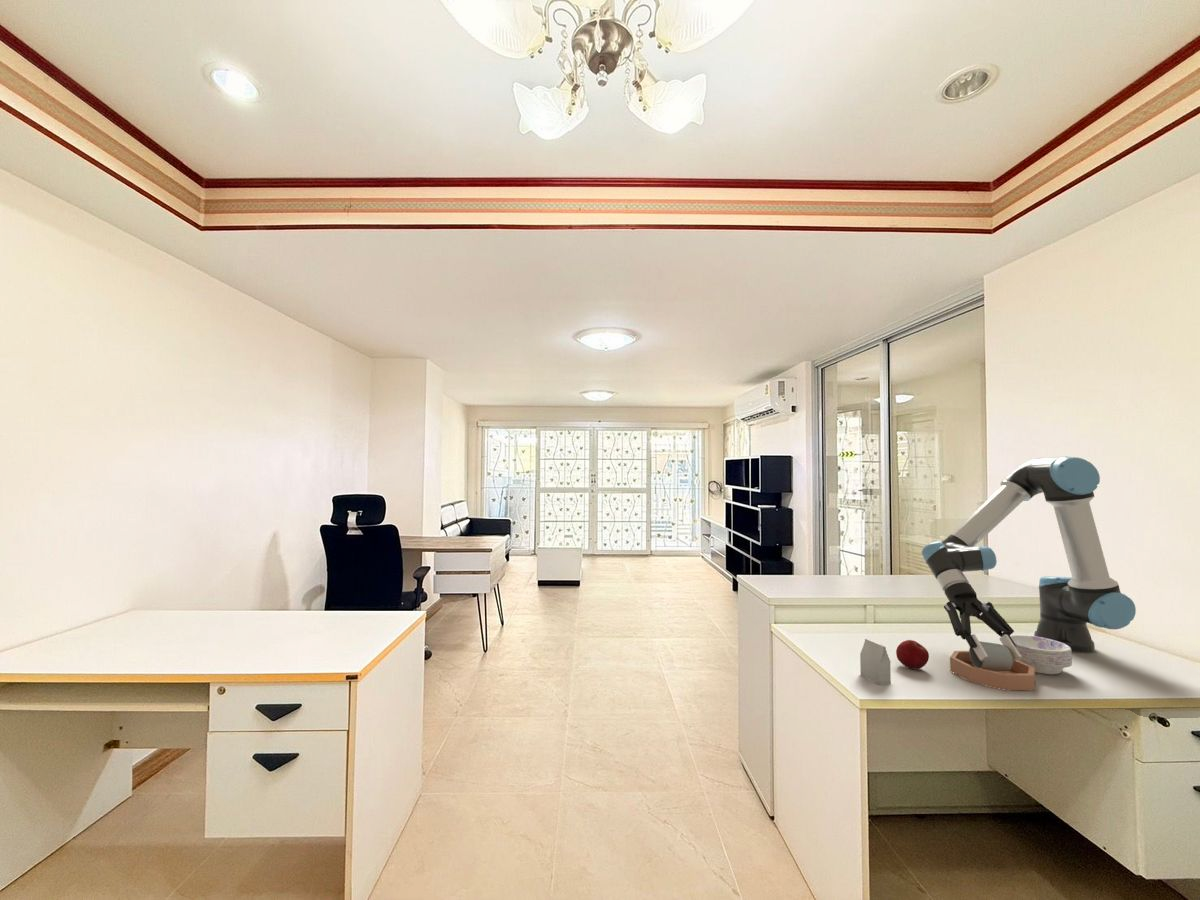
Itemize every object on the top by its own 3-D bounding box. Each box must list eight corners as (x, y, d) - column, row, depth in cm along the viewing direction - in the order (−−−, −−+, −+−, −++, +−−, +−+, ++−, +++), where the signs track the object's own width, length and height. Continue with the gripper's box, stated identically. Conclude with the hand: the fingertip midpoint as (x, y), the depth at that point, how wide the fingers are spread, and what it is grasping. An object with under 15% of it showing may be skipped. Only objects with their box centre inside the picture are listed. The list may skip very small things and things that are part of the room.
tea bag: (879, 684, 134) (879, 647, 135) (860, 675, 141) (860, 639, 141) (890, 683, 135) (890, 646, 136) (871, 673, 142) (870, 638, 142)
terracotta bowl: (996, 664, 150) (996, 650, 150) (1053, 690, 132) (1053, 675, 132) (937, 664, 150) (936, 650, 150) (986, 690, 131) (986, 675, 132)
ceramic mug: (1016, 676, 137) (1015, 647, 137) (984, 673, 138) (983, 645, 138) (993, 662, 147) (992, 636, 148) (962, 660, 148) (961, 634, 149)
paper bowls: (993, 663, 151) (992, 636, 152) (1022, 656, 157) (1021, 631, 158) (1054, 682, 137) (1054, 653, 138) (1083, 674, 143) (1083, 646, 144)
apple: (912, 674, 142) (912, 646, 142) (890, 663, 149) (890, 636, 150) (935, 672, 143) (934, 644, 143) (912, 662, 151) (911, 635, 151)
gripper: (983, 594, 157) (1030, 664, 141) (917, 594, 157) (956, 664, 140) (997, 581, 152) (1046, 652, 136) (928, 580, 152) (970, 652, 135)
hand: (1000, 658), depth 138 cm, fingers closed on ceramic mug, 9 cm apart
